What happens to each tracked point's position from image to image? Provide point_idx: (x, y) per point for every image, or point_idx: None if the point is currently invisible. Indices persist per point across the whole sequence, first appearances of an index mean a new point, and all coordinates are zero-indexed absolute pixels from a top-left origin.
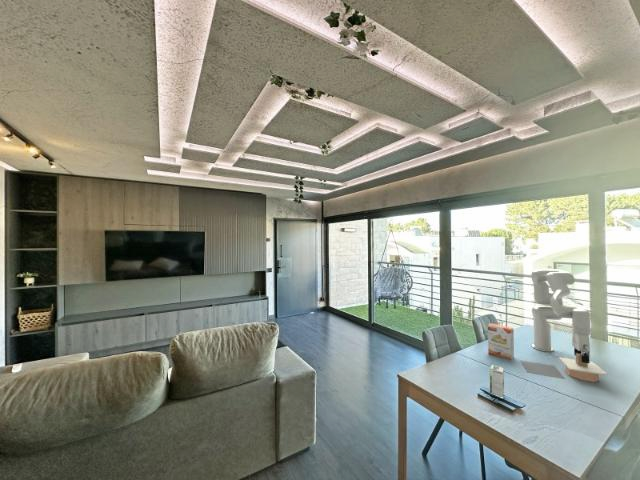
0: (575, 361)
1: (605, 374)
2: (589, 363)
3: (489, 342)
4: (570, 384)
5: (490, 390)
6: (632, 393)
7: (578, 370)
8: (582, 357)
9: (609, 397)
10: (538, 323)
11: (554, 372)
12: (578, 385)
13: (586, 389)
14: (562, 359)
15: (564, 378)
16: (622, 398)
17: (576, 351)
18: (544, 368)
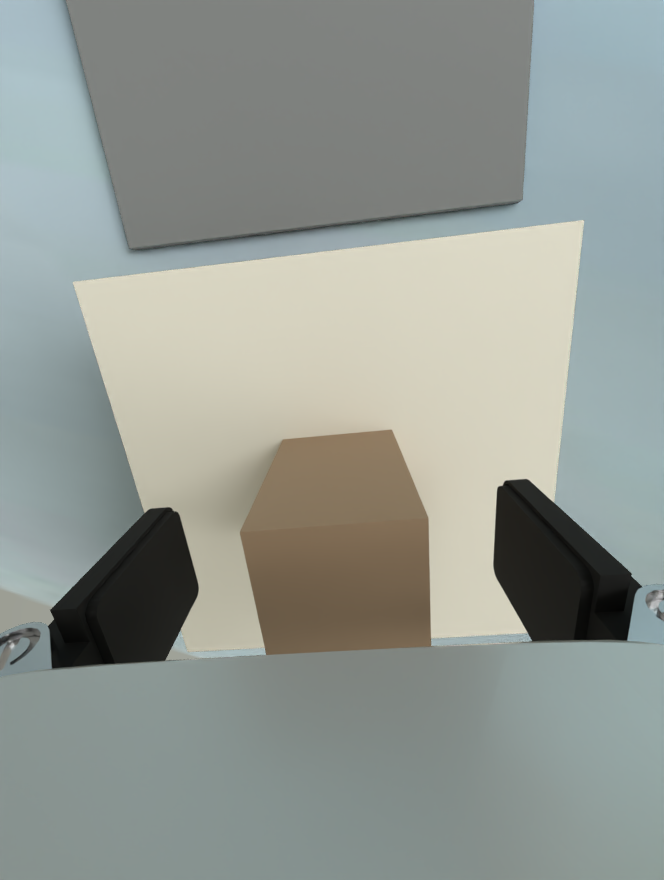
0: (463, 442)
1: (184, 631)
2: (462, 583)
3: None
4: (46, 273)
5: None
6: (208, 654)
7: (115, 397)
8: (92, 579)
9: (9, 511)
10: None
11: (268, 150)
12: (80, 345)
13: (36, 391)
14: (470, 260)
15: (142, 238)
16: (64, 580)
17: (544, 567)
18: (345, 20)
